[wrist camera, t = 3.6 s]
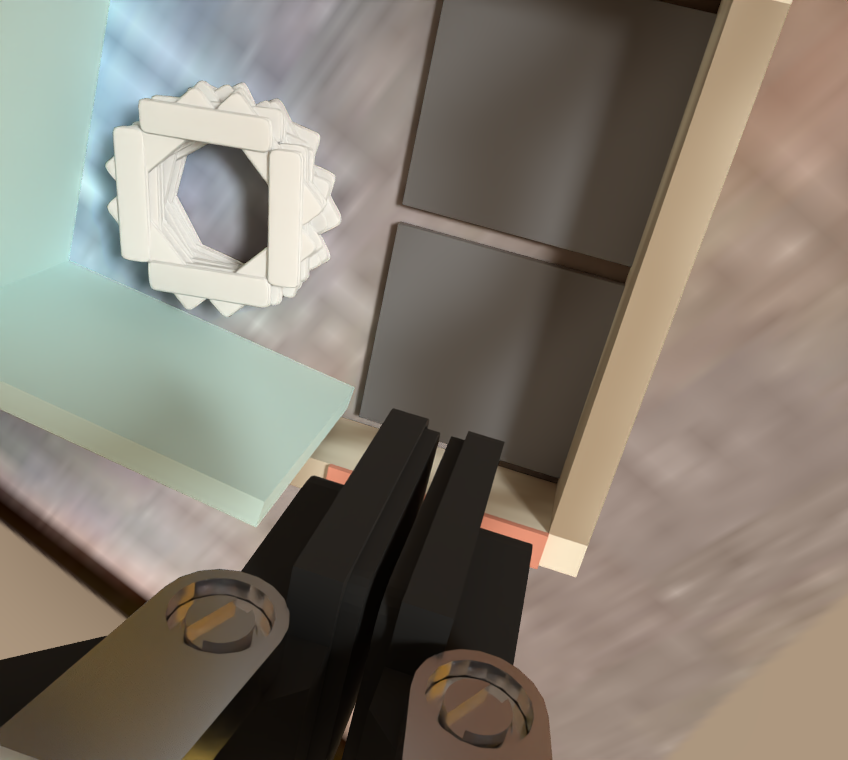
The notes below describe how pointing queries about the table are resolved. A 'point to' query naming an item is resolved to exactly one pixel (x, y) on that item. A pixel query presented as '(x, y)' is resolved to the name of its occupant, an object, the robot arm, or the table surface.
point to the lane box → (554, 238)
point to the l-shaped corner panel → (152, 275)
